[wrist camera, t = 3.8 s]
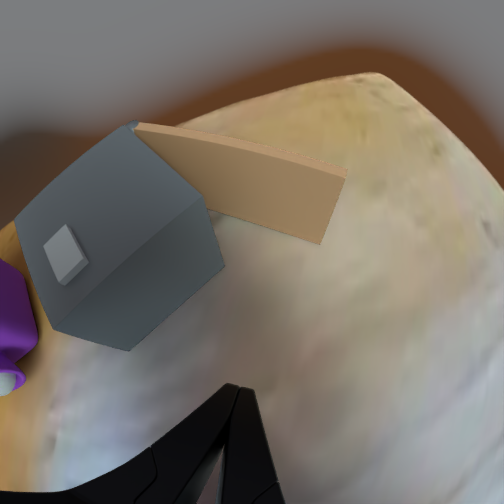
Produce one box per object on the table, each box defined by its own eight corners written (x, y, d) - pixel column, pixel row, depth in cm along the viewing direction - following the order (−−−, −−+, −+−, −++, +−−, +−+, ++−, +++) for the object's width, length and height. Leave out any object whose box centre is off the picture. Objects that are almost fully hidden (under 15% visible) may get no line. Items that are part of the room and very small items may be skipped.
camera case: (224, 266, 24) (200, 189, 14) (128, 351, 21) (46, 326, 11) (153, 192, 27) (114, 113, 18) (73, 261, 24) (7, 206, 15)
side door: (324, 231, 25) (349, 162, 16) (319, 246, 24) (345, 180, 16) (162, 182, 27) (133, 116, 19) (154, 194, 27) (121, 129, 19)
